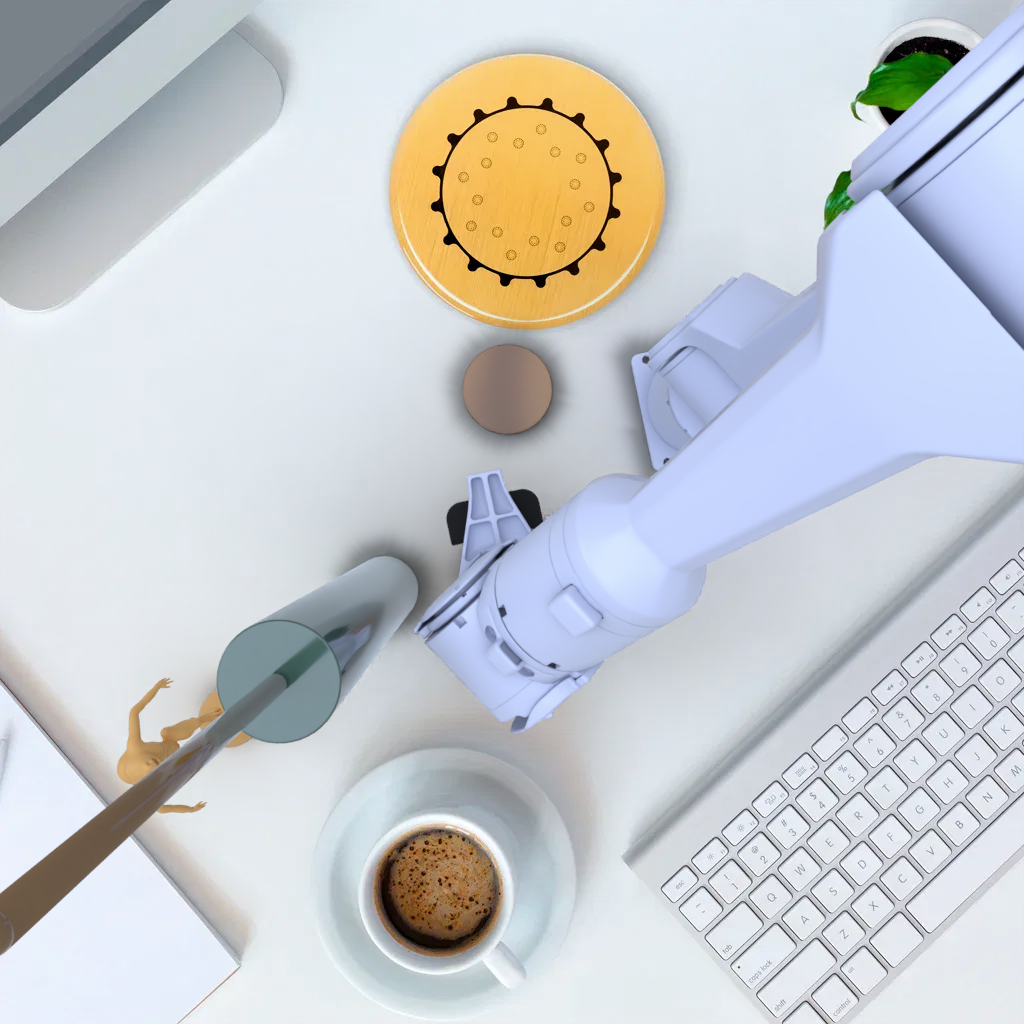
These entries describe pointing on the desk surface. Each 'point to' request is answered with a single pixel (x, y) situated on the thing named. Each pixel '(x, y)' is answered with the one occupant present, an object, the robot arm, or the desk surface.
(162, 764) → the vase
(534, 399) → the coaster
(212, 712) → the figurine
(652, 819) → the desk surface
